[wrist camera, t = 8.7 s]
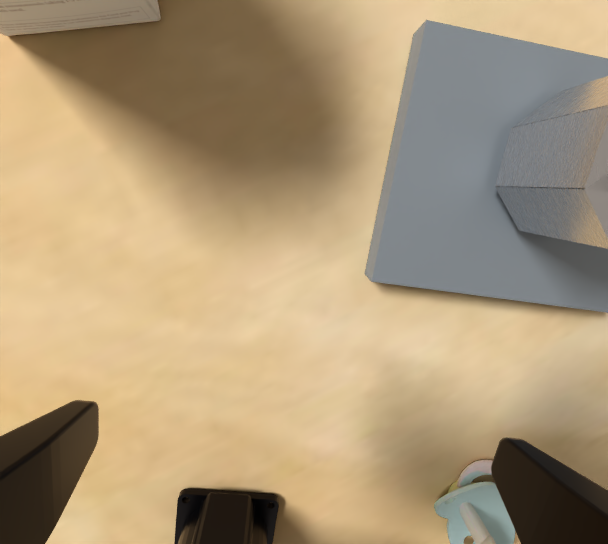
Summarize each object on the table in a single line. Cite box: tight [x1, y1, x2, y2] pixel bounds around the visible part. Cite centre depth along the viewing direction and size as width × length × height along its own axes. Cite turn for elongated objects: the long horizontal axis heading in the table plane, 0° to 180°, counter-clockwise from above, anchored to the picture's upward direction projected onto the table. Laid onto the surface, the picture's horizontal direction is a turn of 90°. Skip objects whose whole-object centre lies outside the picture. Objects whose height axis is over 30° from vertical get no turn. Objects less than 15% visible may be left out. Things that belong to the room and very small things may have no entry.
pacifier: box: [434, 460, 515, 544], centre depth 21 cm, size 7×6×6 cm
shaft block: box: [365, 20, 608, 313], centre depth 16 cm, size 12×14×4 cm
